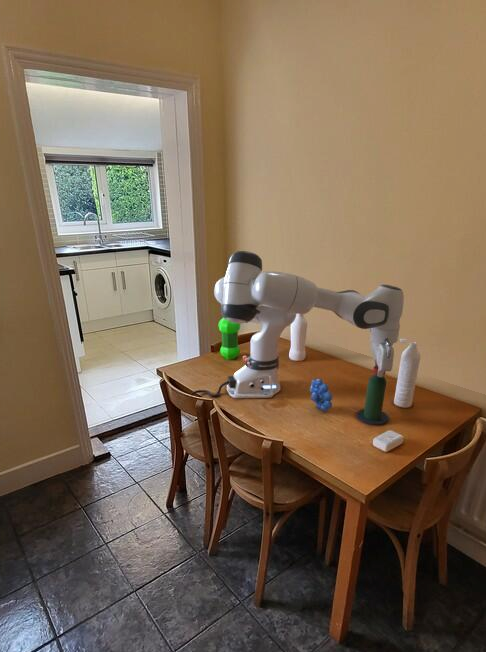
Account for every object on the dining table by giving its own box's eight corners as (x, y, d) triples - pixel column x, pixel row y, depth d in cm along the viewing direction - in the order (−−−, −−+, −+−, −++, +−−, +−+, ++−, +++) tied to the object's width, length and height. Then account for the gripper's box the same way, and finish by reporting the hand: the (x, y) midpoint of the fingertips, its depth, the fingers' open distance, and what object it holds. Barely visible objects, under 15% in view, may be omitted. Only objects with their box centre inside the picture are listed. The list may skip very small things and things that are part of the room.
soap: (388, 436, 137) (389, 428, 136) (403, 443, 133) (404, 435, 132) (371, 445, 132) (372, 437, 131) (386, 453, 128) (387, 445, 127)
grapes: (301, 405, 157) (302, 377, 152) (314, 401, 160) (316, 373, 155) (321, 418, 148) (323, 388, 143) (335, 414, 151) (338, 384, 146)
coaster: (365, 427, 143) (365, 425, 142) (351, 412, 152) (351, 410, 152) (394, 423, 145) (394, 421, 144) (378, 408, 154) (378, 407, 154)
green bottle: (368, 421, 145) (375, 373, 137) (360, 413, 150) (367, 366, 142) (383, 419, 146) (392, 371, 138) (375, 411, 151) (382, 365, 143)
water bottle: (415, 405, 157) (426, 343, 146) (403, 409, 154) (415, 346, 143) (396, 396, 163) (406, 336, 153) (385, 400, 160) (394, 339, 150)
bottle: (306, 361, 198) (310, 300, 186) (289, 361, 199) (292, 300, 186) (304, 355, 206) (307, 296, 193) (288, 355, 206) (290, 296, 193)
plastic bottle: (219, 354, 208) (217, 306, 198) (239, 353, 209) (238, 305, 199) (220, 361, 199) (218, 311, 189) (241, 360, 200) (241, 310, 190)
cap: (385, 376, 139) (386, 370, 138) (373, 375, 139) (374, 369, 138) (383, 371, 143) (384, 365, 142) (371, 371, 143) (372, 365, 142)
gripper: (401, 345, 125) (394, 386, 131) (388, 326, 144) (382, 363, 150) (379, 344, 126) (374, 385, 132) (369, 325, 145) (364, 362, 150)
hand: (378, 373), depth 141 cm, fingers closed on cap, 4 cm apart
